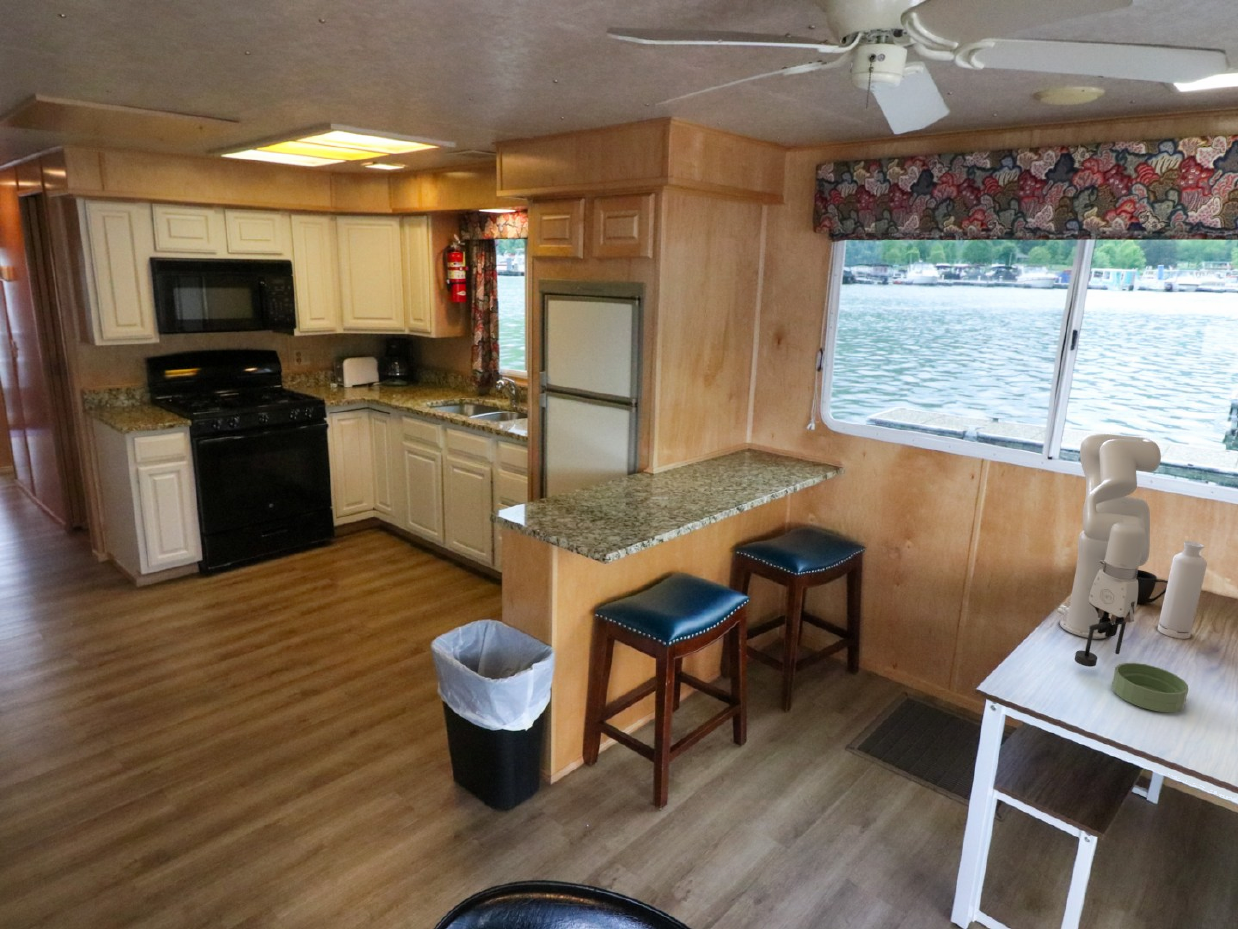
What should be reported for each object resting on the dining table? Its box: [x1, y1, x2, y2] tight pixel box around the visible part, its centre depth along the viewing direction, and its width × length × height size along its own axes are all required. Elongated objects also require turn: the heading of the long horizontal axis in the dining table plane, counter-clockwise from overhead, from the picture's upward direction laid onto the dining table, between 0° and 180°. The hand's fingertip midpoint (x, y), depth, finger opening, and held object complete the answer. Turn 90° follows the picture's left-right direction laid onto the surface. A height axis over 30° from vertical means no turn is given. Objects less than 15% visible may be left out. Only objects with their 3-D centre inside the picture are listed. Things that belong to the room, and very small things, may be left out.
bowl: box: [1111, 662, 1189, 713], centre depth 195 cm, size 15×15×6 cm
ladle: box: [1074, 621, 1128, 668], centre depth 207 cm, size 15×5×11 cm, turn 112°
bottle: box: [1157, 540, 1208, 640], centre depth 229 cm, size 8×8×28 cm
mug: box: [1136, 569, 1168, 606], centre depth 252 cm, size 8×12×10 cm
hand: (1106, 634), depth 207 cm, fingers closed on ladle, 1 cm apart
